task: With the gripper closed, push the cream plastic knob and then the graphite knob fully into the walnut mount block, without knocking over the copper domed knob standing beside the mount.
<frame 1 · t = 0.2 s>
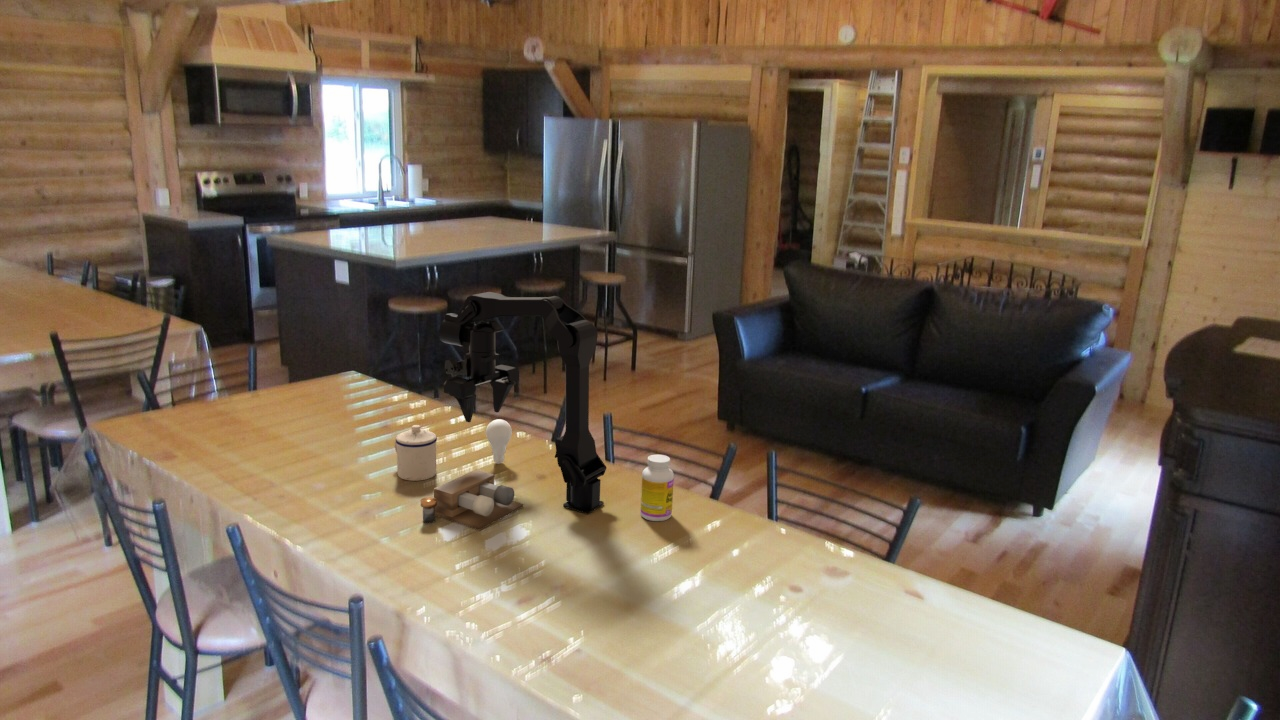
hand: (482, 416, 195), 14 cm above the table, fingers open, 9 cm apart
cream knob: (471, 501, 177), point 3 cm above the table, slide at 0.0 cm
graphite knob: (491, 491, 182), point 3 cm above the table, slide at 0.0 cm
supplement bottle: (655, 516, 182), on the table
copper domed knob: (429, 520, 175), on the table
walnut mount: (464, 506, 182), on the table
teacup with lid: (413, 473, 199), on the table
lightbulb: (498, 464, 207), on the table
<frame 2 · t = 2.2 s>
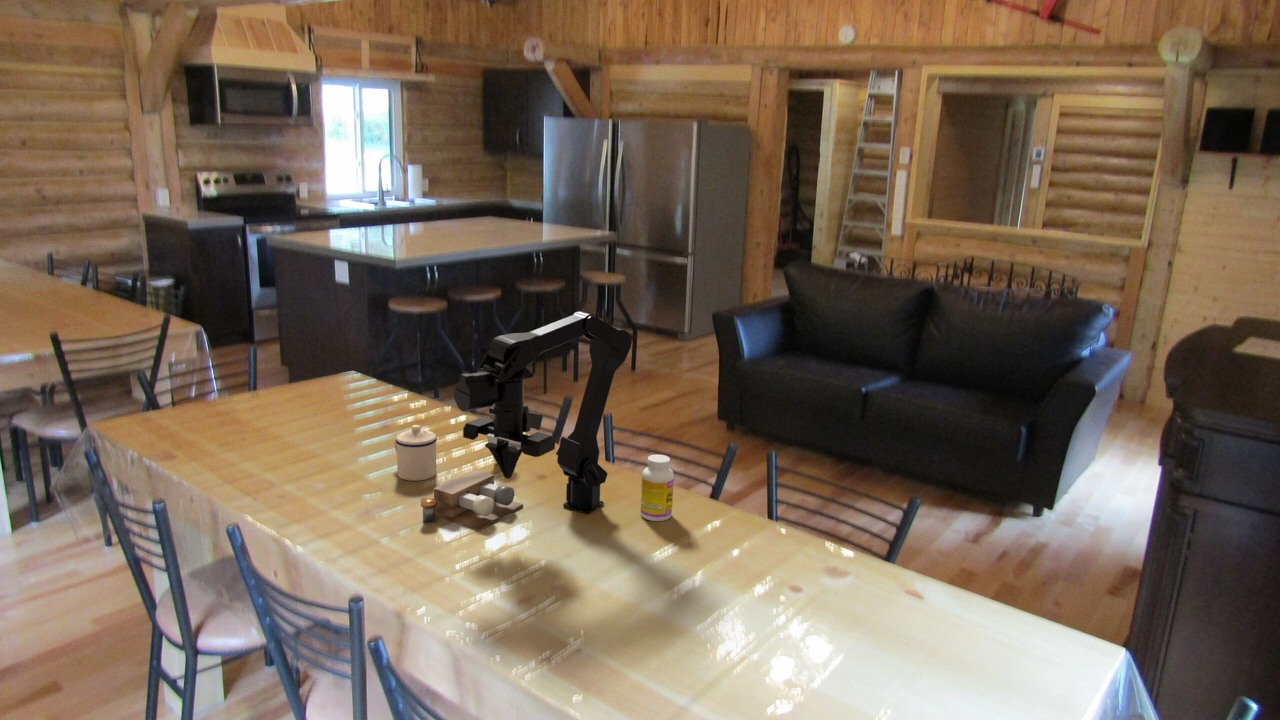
hand: (508, 477, 170), 11 cm above the table, fingers closed
nothing on the table moved.
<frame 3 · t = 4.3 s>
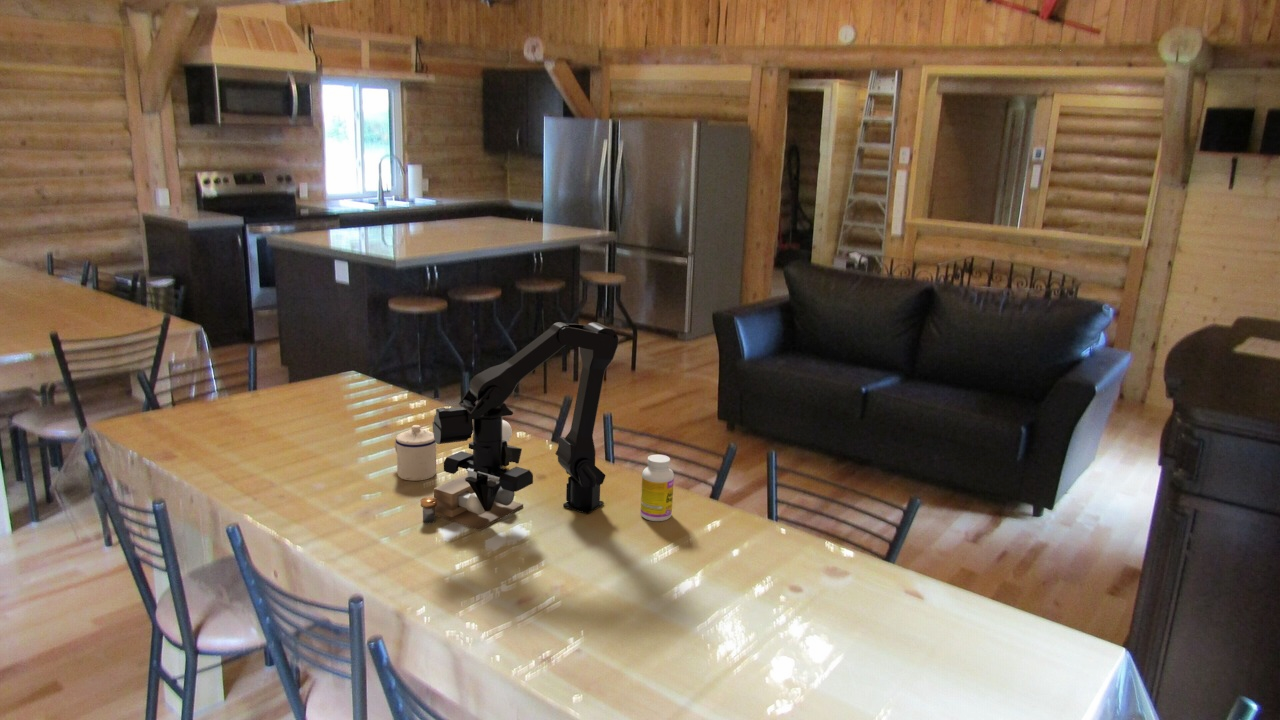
hand: (487, 510, 175), 3 cm above the table, fingers closed
cream knob: (464, 499, 177), point 3 cm above the table, slide at 1.7 cm, touching gripper
everything else where it was.
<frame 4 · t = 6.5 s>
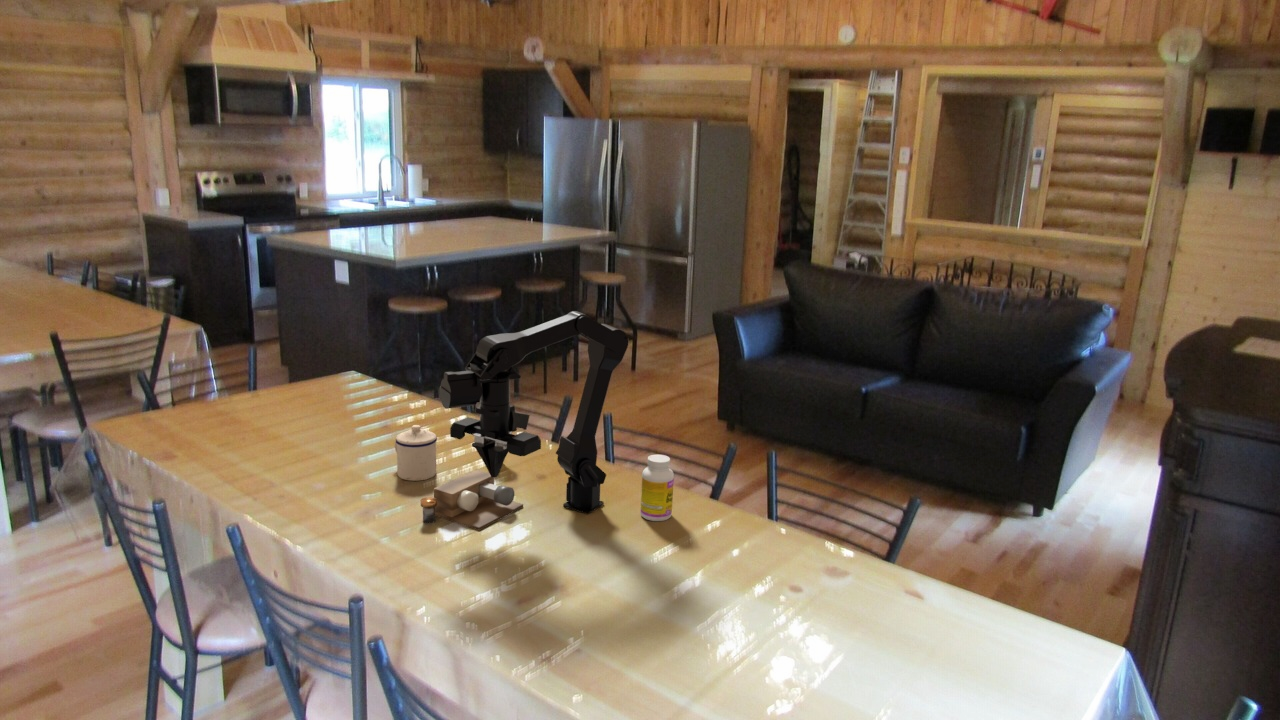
hand: (494, 477, 172), 10 cm above the table, fingers closed
cream knob: (455, 496, 179), point 3 cm above the table, slide at 4.2 cm
everything else where it was.
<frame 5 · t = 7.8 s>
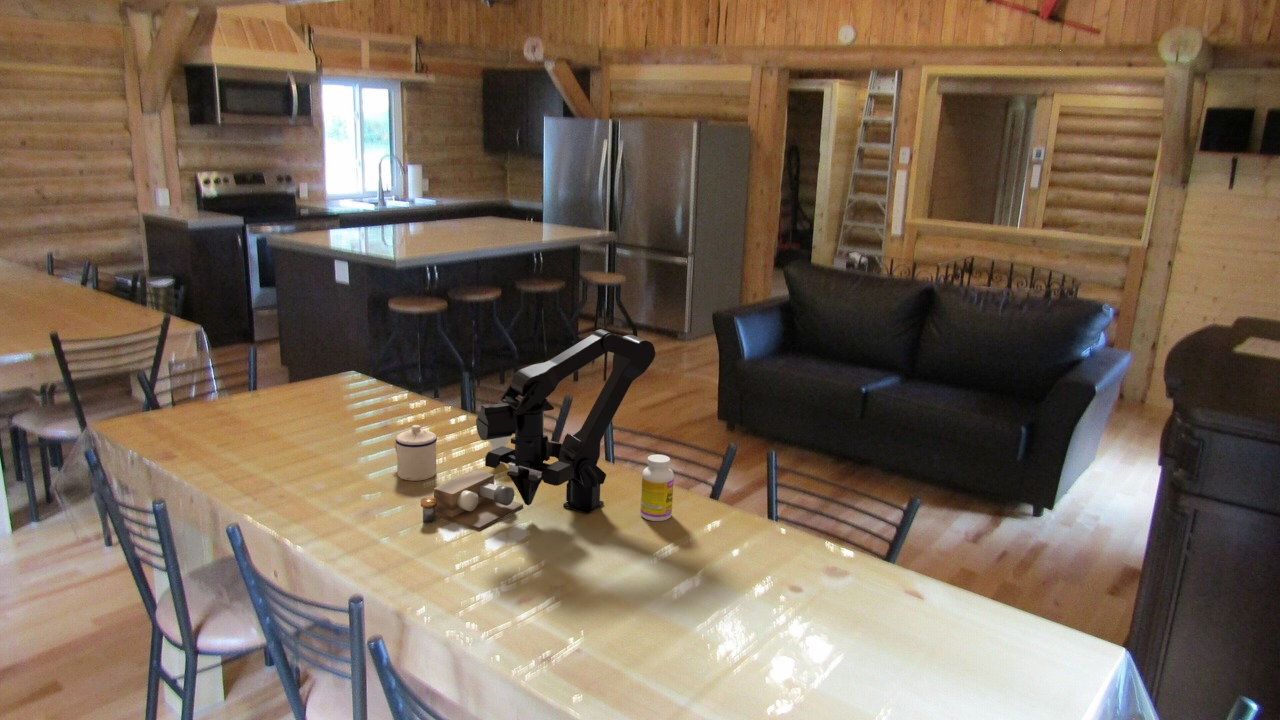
hand: (528, 504, 178), 3 cm above the table, fingers closed
nothing on the table moved.
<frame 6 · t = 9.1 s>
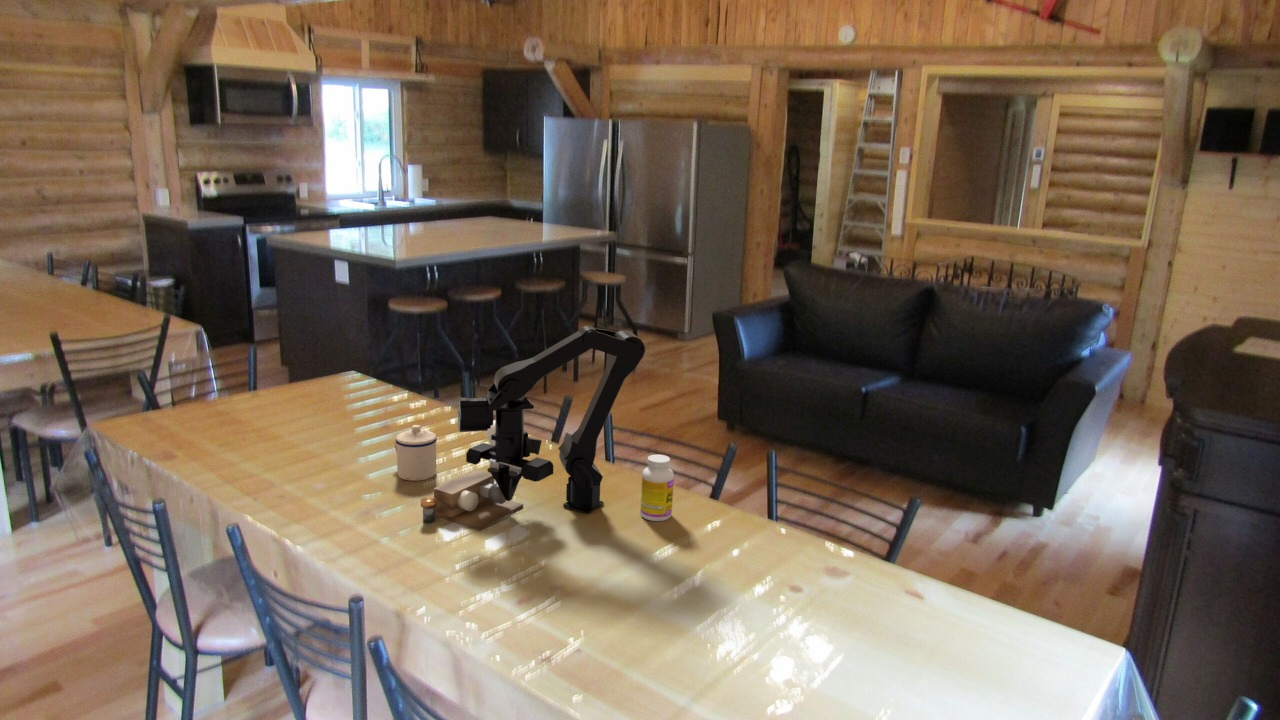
hand: (508, 500, 180), 3 cm above the table, fingers closed
graphite knob: (486, 489, 183), point 3 cm above the table, slide at 1.5 cm, touching gripper
everything else where it was.
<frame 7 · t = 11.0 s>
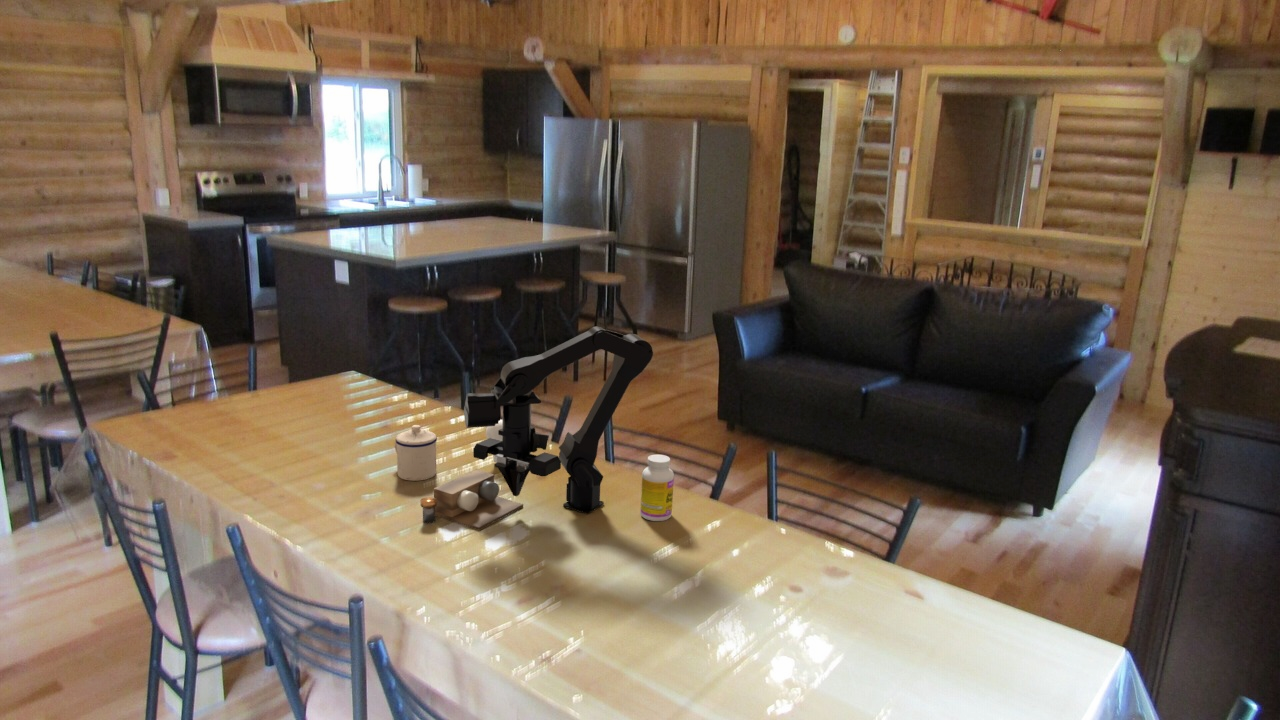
hand: (516, 495, 180), 4 cm above the table, fingers closed
graphite knob: (476, 486, 184), point 3 cm above the table, slide at 4.2 cm
everything else where it was.
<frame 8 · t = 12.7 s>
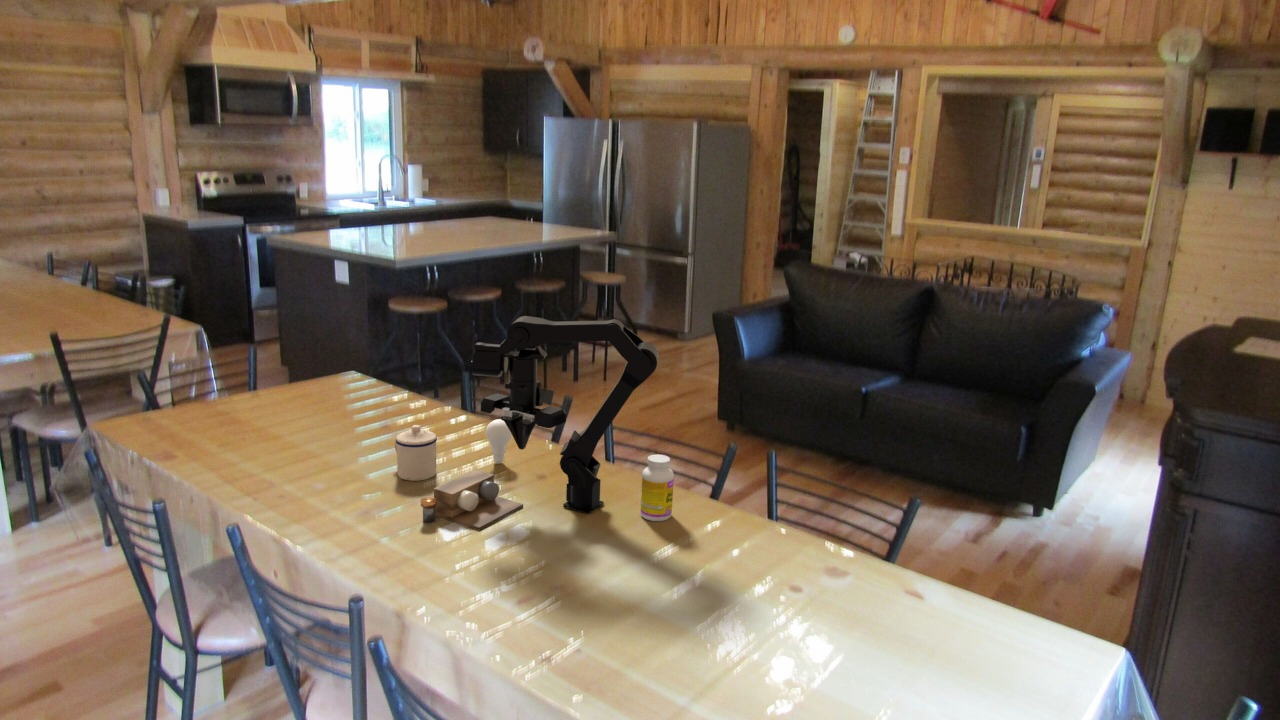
hand: (522, 448, 183), 12 cm above the table, fingers closed
nothing on the table moved.
at the end: cream knob slide at 4.2 cm; graphite knob slide at 4.2 cm; copper domed knob tilted 0° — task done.
